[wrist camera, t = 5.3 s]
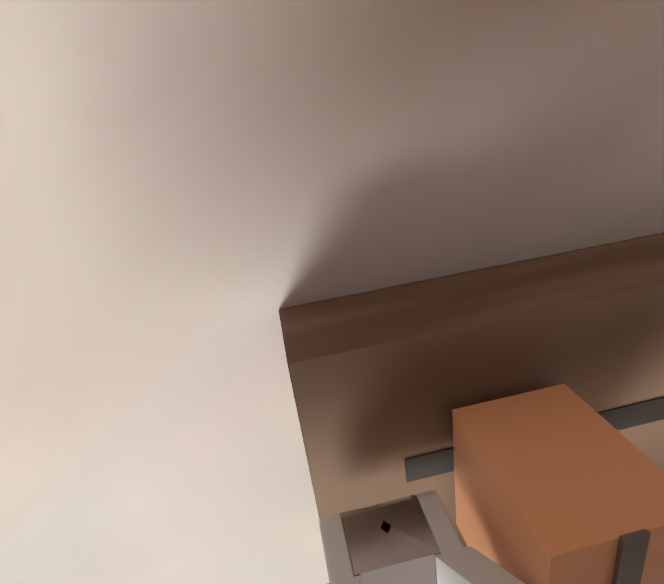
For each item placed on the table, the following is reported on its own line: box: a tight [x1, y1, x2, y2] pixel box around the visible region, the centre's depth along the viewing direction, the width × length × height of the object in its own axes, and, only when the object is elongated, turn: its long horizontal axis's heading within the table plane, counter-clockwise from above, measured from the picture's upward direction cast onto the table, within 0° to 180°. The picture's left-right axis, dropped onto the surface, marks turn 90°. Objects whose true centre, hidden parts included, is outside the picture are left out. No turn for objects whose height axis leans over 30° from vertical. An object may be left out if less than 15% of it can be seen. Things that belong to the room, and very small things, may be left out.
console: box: [279, 233, 664, 547], centre depth 16 cm, size 15×22×3 cm
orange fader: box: [452, 384, 664, 584], centre depth 10 cm, size 4×3×4 cm
